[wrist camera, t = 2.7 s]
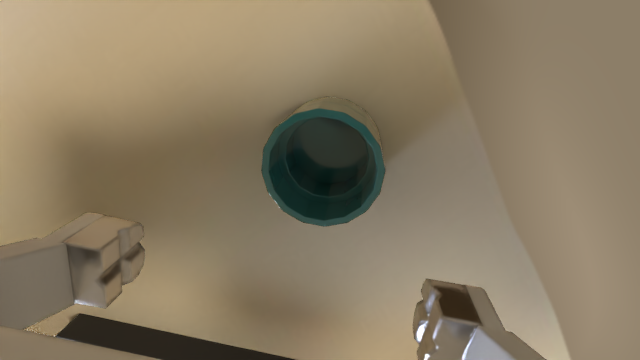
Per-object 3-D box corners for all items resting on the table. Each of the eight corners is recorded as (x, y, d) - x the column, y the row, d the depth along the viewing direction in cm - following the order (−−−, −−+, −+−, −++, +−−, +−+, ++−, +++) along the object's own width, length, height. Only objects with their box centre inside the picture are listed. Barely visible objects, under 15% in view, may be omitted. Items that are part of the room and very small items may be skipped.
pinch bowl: (390, 105, 22) (396, 121, 17) (369, 199, 24) (370, 235, 19) (288, 88, 22) (267, 99, 17) (277, 182, 24) (257, 214, 20)
